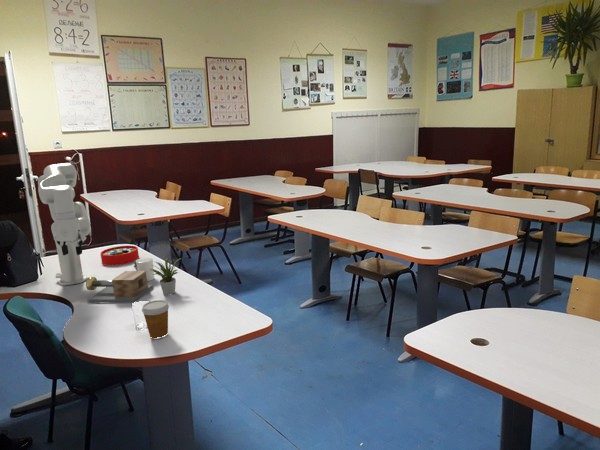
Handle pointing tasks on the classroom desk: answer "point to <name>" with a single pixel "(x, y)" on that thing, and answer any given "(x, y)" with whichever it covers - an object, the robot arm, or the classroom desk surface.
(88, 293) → the classroom desk surface
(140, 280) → the block
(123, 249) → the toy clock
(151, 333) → the disposable coffee cup
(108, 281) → the shaft
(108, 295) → the base mat
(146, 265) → the white cup
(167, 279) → the house plant
